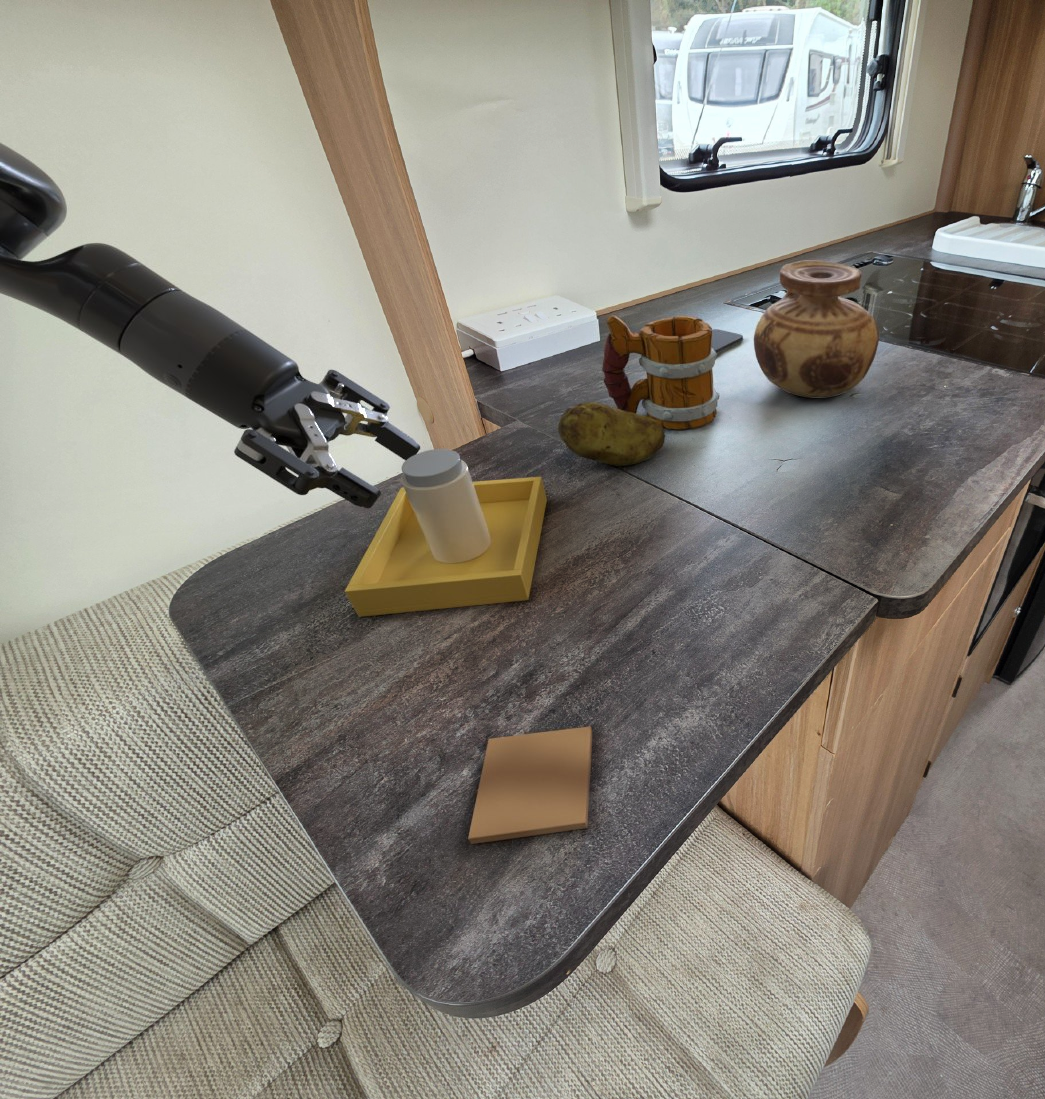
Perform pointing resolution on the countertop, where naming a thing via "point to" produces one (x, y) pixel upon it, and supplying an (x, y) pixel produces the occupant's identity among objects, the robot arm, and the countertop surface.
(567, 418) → the potato
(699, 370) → the mug
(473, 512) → the jar with grey lid
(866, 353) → the clay pot
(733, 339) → the phone
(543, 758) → the trivet
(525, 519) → the tray
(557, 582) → the countertop surface
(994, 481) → the countertop surface
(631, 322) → the countertop surface
